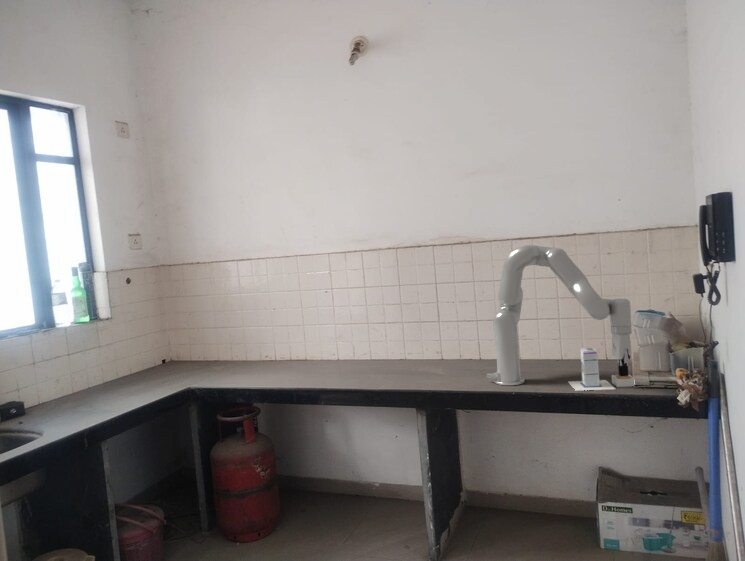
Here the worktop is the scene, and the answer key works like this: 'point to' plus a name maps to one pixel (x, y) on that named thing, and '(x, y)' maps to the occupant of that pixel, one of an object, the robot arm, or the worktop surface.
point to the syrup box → (589, 367)
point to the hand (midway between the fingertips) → (623, 375)
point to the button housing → (622, 381)
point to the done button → (622, 376)
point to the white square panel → (581, 387)
